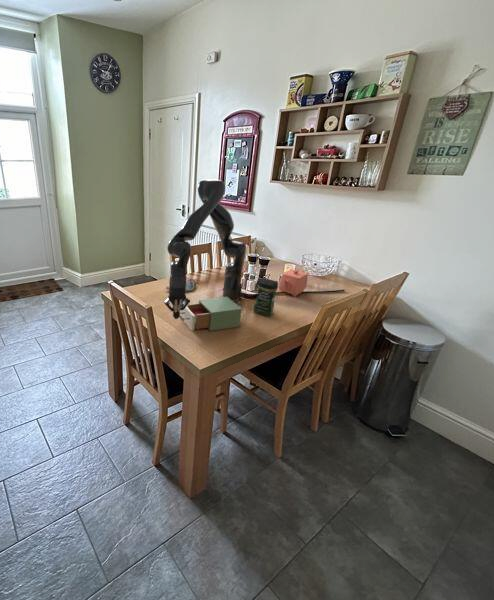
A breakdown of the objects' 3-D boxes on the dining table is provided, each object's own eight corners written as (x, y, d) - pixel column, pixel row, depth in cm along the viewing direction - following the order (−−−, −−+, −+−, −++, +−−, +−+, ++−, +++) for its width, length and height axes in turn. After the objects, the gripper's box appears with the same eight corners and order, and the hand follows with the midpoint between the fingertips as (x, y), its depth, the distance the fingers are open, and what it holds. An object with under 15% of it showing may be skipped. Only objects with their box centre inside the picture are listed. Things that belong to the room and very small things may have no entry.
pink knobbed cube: (292, 300, 188) (297, 277, 182) (272, 294, 196) (276, 271, 190) (308, 290, 202) (313, 269, 196) (289, 285, 210) (293, 264, 204)
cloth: (176, 296, 190) (176, 292, 189) (161, 289, 200) (161, 285, 199) (206, 286, 206) (207, 282, 205) (191, 279, 215) (191, 276, 214)
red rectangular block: (200, 315, 164) (200, 309, 163) (208, 324, 156) (209, 318, 154) (189, 316, 163) (189, 310, 161) (197, 326, 154) (197, 319, 153)
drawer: (183, 332, 151) (184, 317, 148) (173, 319, 162) (174, 305, 159) (219, 327, 156) (221, 312, 153) (207, 314, 168) (209, 300, 164)
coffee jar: (251, 312, 173) (256, 279, 166) (257, 307, 179) (262, 275, 171) (268, 317, 168) (274, 284, 160) (275, 312, 173) (281, 279, 166)
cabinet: (210, 330, 154) (211, 312, 150) (197, 317, 167) (199, 299, 163) (239, 326, 159) (241, 308, 155) (225, 313, 171) (227, 296, 167)
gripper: (166, 288, 142) (165, 323, 150) (194, 285, 146) (192, 320, 153) (161, 282, 149) (160, 316, 156) (188, 279, 153) (186, 313, 160)
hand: (176, 318), depth 155 cm, fingers closed
